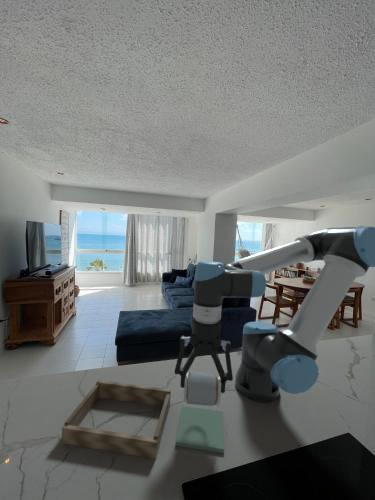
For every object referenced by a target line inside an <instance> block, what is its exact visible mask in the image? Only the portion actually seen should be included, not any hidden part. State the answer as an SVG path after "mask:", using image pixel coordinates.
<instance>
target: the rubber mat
mask: <svg viewBox="0 0 375 500" xmlns="http://www.w3.org/2000/svg"><path fill="white" fill-rule="evenodd" d="M223 422H224V421H223V411H222V410H221V411H220V410H215V409H214V410H213V409H207V408H200V407H192V406H185V405H184V406H183V405H182V407H181V411H180V417H179V423H178V427H177V428H178V429H177V434H176V440H175V447H180V448H181V447H182V448H188V449H196V450H199V451H200V450H202V451H207V452H213V453H220V454H225V441H224V425H223V424H224V423H223Z"/></svg>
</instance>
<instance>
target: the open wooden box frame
mask: <svg viewBox="0 0 375 500" xmlns="http://www.w3.org/2000/svg"><path fill="white" fill-rule="evenodd" d="M171 392H172V389H171V388H169V389H168V388H162V387H155V386H154V387H152V386H146V385H139V384H129V383H122V382H117V381H116V382H113V381H106V380H98V379H97V381H96V382H95V385H93V387H92V388H91V390H90V391H89V392H88V393H87V394H86V396H85V397H84V398H83V400H82V401H81V402H80V403H79V404H78V406H77V407H76V408H75V409H74V410H73V412H71V414H70V415H69V417H67V419H66V420H65V422H64V424H63V426H62V427H61V444H63V445H70V446H76V447H77V446H78V447H82V448H88V449H96V450H100V451H107V452H112V453H113V452H114V453H117V454H118V453H119V454H124V455H129V456H130V455H132V456H138V457H142V458H143V457H144V458H150V459H157V456H158V452H159V449H160V445H161V441H162V437H163V434H164V429H165V427H166V422H167V419H168V413H169V410H170V407H171ZM99 399H106V400H114V401H119V402H120V401H121V402H127V403H135V404H143V405H149V406H157V407H162V408H161V411H160V415H159V418H158V421H157V424H156V428H155V431H154V433H153V437H148V436H142V435H136V434H129V433H122V432H116V431H111V430H104V429H97V428H90V427H84V426H80V424H81V423H82V422H83V421H84V419H85V418H86V416H87V415H88V413H90V412H91V409H92V408H93V406H94V405H95V404H96V402H97V401H98V400H99Z"/></svg>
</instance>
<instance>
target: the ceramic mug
mask: <svg viewBox="0 0 375 500" xmlns="http://www.w3.org/2000/svg"><path fill="white" fill-rule="evenodd" d="M188 373H189V377H188V394H187V401H186V403H187V404H188V405H197V406H208V407H211V406H217V401H218V376H216V375H214V374H211V373H206V372H199V371H193V370H189V371H188Z"/></svg>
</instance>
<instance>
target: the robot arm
mask: <svg viewBox="0 0 375 500" xmlns="http://www.w3.org/2000/svg"><path fill="white" fill-rule="evenodd" d="M315 261H323V262H324V266H323V267H322V269H321V271H320V272H319V274H318V276H317V278H316V279H315V281H314V282H313V284H312V285H311V287H310V289H309V291H308V293H307V294H306V296H305V297H304V299H303V301H302V302H301V304H300V306H299V307H298V308H297V311H296V312H295V314H294V315H293V317H292V319H291V320H290V323H289V324H288V326H287V327H286V328H282V329H279V328H278V326H277V325H275V324H273V323H270V322H264V321H250V322H246V323H245V324H244V325H243V328H242V329H243V330H242V346H241V362H240V365H239V366H238V369H237V371H236V374H235V380H234V377H233V369H232V360H231V349H232V345H231V344H232V343H231V340H229V339H227V340H222V338H221V319H222V306H223V298H238V299H239V298H245V299H246V298H249V299H252V298H260V297H262V296H263V295H264V294H265V292H266V289H267V280H266V279H267V278H266V276H265V275H266V274H269V273H273V272H275V271H278V270H281V269H284V268H288V267H291V266H293V265H296V264H299V263H302V262H303V263H304V264H305V263H311V262H315ZM370 267H371V268H375V226H364V225H359V226H351V227H350V226H348V227H346V226H344V227H329V228H324V229H319V230H316V231H314V232H310V233H308V234H305V235H302V236H299V237H297V238H295V239H294V241H292V242H290V243H286V244H284V245H279V246H277V247H274V248H271V249H267V250H264V251H261V252H259V253H255V254H252V255H249V256H245V257H243V258H240V259H237V260H234V261H230V262H227V263H225V262H224V263H223V262H219V261H210V260H207V261H206V260H204V261H199V262H198V263H196V266H195V274H194V291H193V293H194V294H193V295H194V296H193V298H194V299H193V305H192V310H193V311H192V317H193V318H192V324H191V335H190V336H185V335H181V337H180V339H179V348H180V349H179V353H178V356H177V361H176V364H175V368H174V374H175V375H179V376H180V388H183V389H184V390H183V402H184V403H187V394H188V383H189V371H190V368H191V367H192V365H193V362H194V361H195V359H196V358H197V356H198V355H206V356H211V358H212V360H213V362H214V366H215V368H216V371H217V373H218V375H219V376H217V378H218V401H217V404H216V407H220V406H221V395H222V394H225V392H226V384H227V381H229V382H232V381H233V380H234V381H235V382H234V384H235V387H236V389H237V391H239V392H240V393H241V394H242V395H243V396H244V397H247V398H248V399H250V400H253V401H255V402H256V401H257V402H260V403H261V402H263V403H265V402H266V403H268V402H273V401H275V400H276V399H278V397H280V389H281V390H282V391H284V392H285V393H288V394H290V395H291V394H292V395H298V394H303V393H306V392H307V391H309V390H311V389H312V387H314V385H315V384H316V383H317V381H318V378H319V366H318V364H317V362H316V360H317V359H318V356H319V353H318V351H317V345H318V344H319V342H320V340H321V338H322V337H323V335H324V333H325V331H326V330H327V329H328V327H329V325H330V323H331V321H332V319H333V318H334V316H335V314H336V313H337V311H338V309H339V307H340V305H341V304H342V302H343V300H344V299H345V297H346V296H347V294H348V292H349V290H350V288H351V287H352V285H353V284H354V282H355V280H356V279H357V278H360V277H364V276H366V274H367V273H368V271H369V269H370ZM189 343H190V344H191V345H192V347H193V348H192V351H191V353H189V356H188V358H187V360H186V361H185V363H184V365H183V367H181V366H182V362H183V358H184V354H185V349H186V347H187V346H188V344H189ZM220 346H221V347H222V348H221V349H222V350H223V351H224V354H225V355H224V357H225V363H226V364H225V365H226V371H227V372H225V370H224V368H223V365H222V363H221V359H220V357H219V355H218V352H217V350H218V348H219V347H220Z"/></svg>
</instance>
